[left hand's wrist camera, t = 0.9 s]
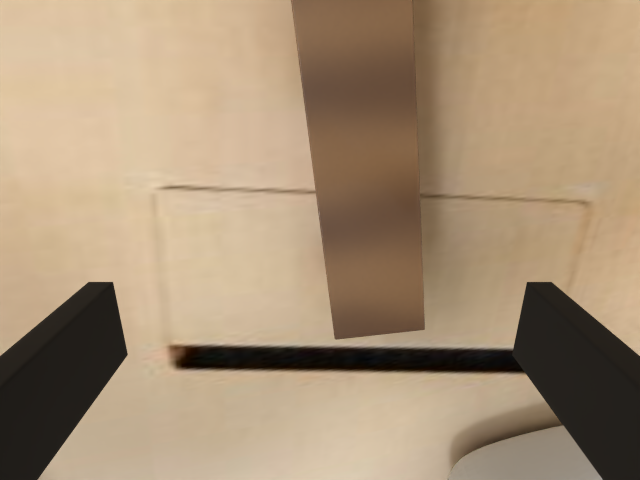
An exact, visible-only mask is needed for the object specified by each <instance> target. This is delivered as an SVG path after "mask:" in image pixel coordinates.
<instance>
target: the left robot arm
mask: <svg viewBox="0 0 640 480" xmlns="http://www.w3.org/2000/svg"><path fill="white" fill-rule="evenodd" d="M127 355H128V354H127V349H126V344H125V339H124V334H123V329H122V324H121V320H120V315H119V310H118V305H117V300H116V295H115V290H114V285H113V282H88V283H87V284H86V285H85V286H84V287H82V288H81V289H80V290H79V291H78V292H76V293H75V294H74V295H73V296H72V297H70V298H69V299H68V300H67V301H66V302H64V303H63V304H62V305H61V306H60V307H58V308H57V309H56V310H55V311H54V312H52V313H51V314H50V315H49V316H48V317H46V318H45V319H44V320H43V321H42V322H41V323H39V324H38V325H37V326H36V327H35V328H33V329H32V330H31V331H30V332H29V333H27V334H26V335H25V336H24V337H23V338H21V339H20V340H19V341H18V342H17V343H15V344H14V345H13V346H12V347H11V348H9V349H8V350H7V351H6V352H5V353H3V354H2V355H1V356H0V480H37V479H38V478H39V477H40V475H41V474H42V473H43V471H44V470H45V468H46V467H47V466H48V464H49V463H50V462H51V460H52V459H53V457H54V456H55V455H56V453H57V452H58V450H59V449H60V448H61V446H62V445H63V444H64V442H65V441H66V439H67V438H68V437H69V435H70V434H71V432H72V431H73V430H74V428H75V427H76V426H77V424H78V423H79V421H80V420H81V419H82V417H83V416H84V414H85V413H86V412H87V410H88V409H89V408H90V406H91V405H92V403H93V402H94V401H95V399H96V398H97V396H98V395H99V394H100V392H101V391H102V390H103V388H104V387H105V385H106V384H107V383H108V381H109V380H110V378H111V377H112V376H113V374H114V373H115V372H116V370H117V369H118V367H119V366H120V365H121V363H122V362H123V360H124V359H125V358H126V356H127ZM512 355H513V356H514V358H515V359H516V360H517V362H518V363H519V365H520V366H521V367H522V369H523V370H524V372H525V373H526V374H527V376H528V377H529V378H530V380H531V381H532V383H533V384H534V385H535V387H536V388H537V390H538V391H539V392H540V394H541V395H542V396H543V398H544V399H545V401H546V402H547V403H548V405H549V406H550V408H551V409H552V410H553V412H554V413H555V414H556V416H557V417H558V419H559V420H560V421H561V423H562V424H563V426H564V427H565V428H566V430H567V431H568V432H569V434H570V435H571V437H572V438H573V439H574V441H575V442H576V444H577V445H578V446H579V448H580V449H581V450H582V452H583V453H584V455H585V456H586V457H587V459H588V460H589V462H590V463H591V464H592V466H593V467H594V468H595V470H596V471H597V473H598V474H599V475H600V477H601V478H602V479H603V480H640V356H639V355H638V354H637V353H635V352H634V351H633V350H632V349H631V348H629V347H628V346H627V345H626V344H625V343H623V342H622V341H621V340H620V339H619V338H617V337H616V336H615V335H614V334H613V333H611V332H610V331H609V330H608V329H607V328H605V327H604V326H603V325H602V324H601V323H599V322H598V321H597V320H596V319H595V318H594V317H592V316H591V315H590V314H589V313H588V312H586V311H585V310H584V309H583V308H582V307H580V306H579V305H578V304H577V303H576V302H574V301H573V300H572V299H571V298H570V297H568V296H567V295H566V294H565V293H564V292H562V291H561V290H560V289H559V288H558V287H556V286H555V285H554V284H553V283H552V282H527V285H526V290H525V295H524V300H523V305H522V310H521V315H520V320H519V324H518V329H517V334H516V339H515V344H514V349H513V354H512Z"/></svg>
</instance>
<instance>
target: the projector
mask: <svg viewBox="0 0 640 480" xmlns="http://www.w3.org/2000/svg"><path fill="white" fill-rule="evenodd" d="M448 480H603V479H602V478H601V477H600V475H599V474H598V473H597V471H596V470H595V468H594V467H593V466H592V464H591V463H590V462H589V460H588V459H587V457H586V456H585V455H584V453H583V452H582V450H581V449H580V448H579V446H578V445H577V444H576V442H575V441H574V439H573V438H572V437H571V435H570V434H569V432H568V431H567V430H566V428H565V427H564V426H563V425H562V426H557V427H552V428H548V429H543V430H539V431H534V432H530V433H527V434H523V435H519V436H515V437H512V438H508V439H505V440H501V441H498V442H495V443H492V444H489V445H487V446H484V447H481V448H479V449H477V450H474V451H472V452H471V453H469V454H467V455H465V456H464V457H462V458H461V459H460V460H459V461H458V462H457V463H456V464H455V465H454V467H453V468H452V470H451V472H450V474H449V477H448Z"/></svg>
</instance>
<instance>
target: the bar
mask: <svg viewBox="0 0 640 480" xmlns="http://www.w3.org/2000/svg"><path fill="white" fill-rule="evenodd" d="M291 2H292V10H293V18H294V26H295V33H296V41H297V49H298V57H299V64H300V72H301V80H302V88H303V96H304V103H305V111H306V119H307V127H308V134H309V142H310V150H311V158H312V165H313V173H314V181H315V189H316V196H317V204H318V212H319V220H320V228H321V235H322V243H323V251H324V259H325V266H326V274H327V282H328V290H329V297H330V305H331V313H332V321H333V328H334V336H335V339H345V338H354V337H363V336H372V335H381V334H390V333H399V332H408V331H417V330H424V329H425V321H424V295H423V268H422V241H421V214H420V187H419V161H418V134H417V107H416V80H415V53H414V27H413V0H291Z"/></svg>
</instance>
